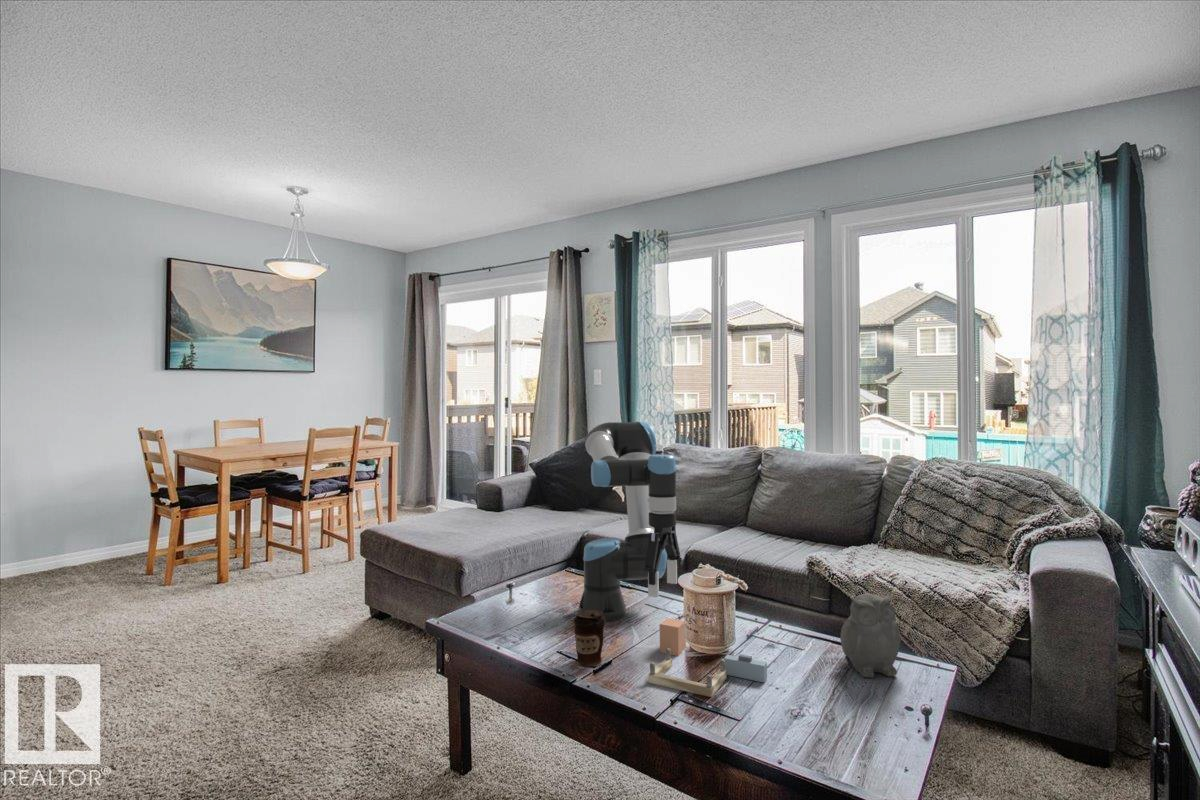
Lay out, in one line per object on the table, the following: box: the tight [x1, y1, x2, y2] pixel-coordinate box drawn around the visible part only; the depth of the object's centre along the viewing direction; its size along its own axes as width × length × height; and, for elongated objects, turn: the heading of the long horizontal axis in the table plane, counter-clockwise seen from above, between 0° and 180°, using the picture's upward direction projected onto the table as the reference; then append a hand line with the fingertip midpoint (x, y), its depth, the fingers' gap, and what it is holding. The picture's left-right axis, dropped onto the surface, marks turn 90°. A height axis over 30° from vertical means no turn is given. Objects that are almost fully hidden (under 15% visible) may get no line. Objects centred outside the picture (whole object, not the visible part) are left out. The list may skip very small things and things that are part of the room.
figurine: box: [839, 592, 902, 678], centre depth 156 cm, size 14×16×20 cm
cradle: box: [647, 648, 728, 698], centre depth 149 cm, size 12×16×4 cm
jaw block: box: [659, 617, 687, 657], centre depth 167 cm, size 6×6×8 cm
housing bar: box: [723, 654, 768, 683], centre depth 151 cm, size 2×10×5 cm, turn 61°
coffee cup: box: [573, 610, 606, 667], centre depth 160 cm, size 9×8×13 cm
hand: (663, 589), depth 165 cm, fingers open, 13 cm apart
